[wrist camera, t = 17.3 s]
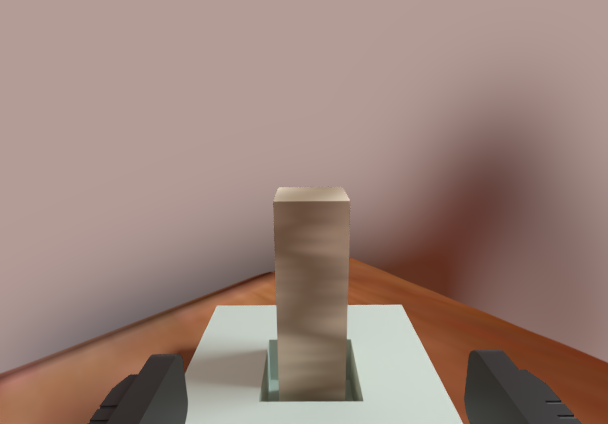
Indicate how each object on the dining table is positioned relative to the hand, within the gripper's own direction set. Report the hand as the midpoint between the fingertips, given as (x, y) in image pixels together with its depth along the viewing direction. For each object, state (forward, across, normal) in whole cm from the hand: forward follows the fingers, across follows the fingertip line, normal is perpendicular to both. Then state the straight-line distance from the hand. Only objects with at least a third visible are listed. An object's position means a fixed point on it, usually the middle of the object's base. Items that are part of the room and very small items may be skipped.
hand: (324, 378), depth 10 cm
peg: (+12, 0, +12) cm, 17 cm away
